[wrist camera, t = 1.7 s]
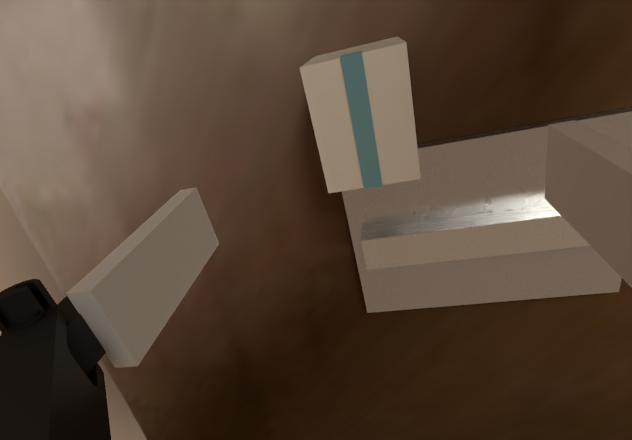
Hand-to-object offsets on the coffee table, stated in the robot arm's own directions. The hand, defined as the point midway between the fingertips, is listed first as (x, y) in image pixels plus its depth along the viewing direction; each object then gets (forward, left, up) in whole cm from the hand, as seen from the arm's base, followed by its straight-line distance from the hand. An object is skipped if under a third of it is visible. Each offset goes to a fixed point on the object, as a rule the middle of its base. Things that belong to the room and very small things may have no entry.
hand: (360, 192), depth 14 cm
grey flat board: (+12, +8, -16) cm, 22 cm away
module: (0, 0, -16) cm, 16 cm away
